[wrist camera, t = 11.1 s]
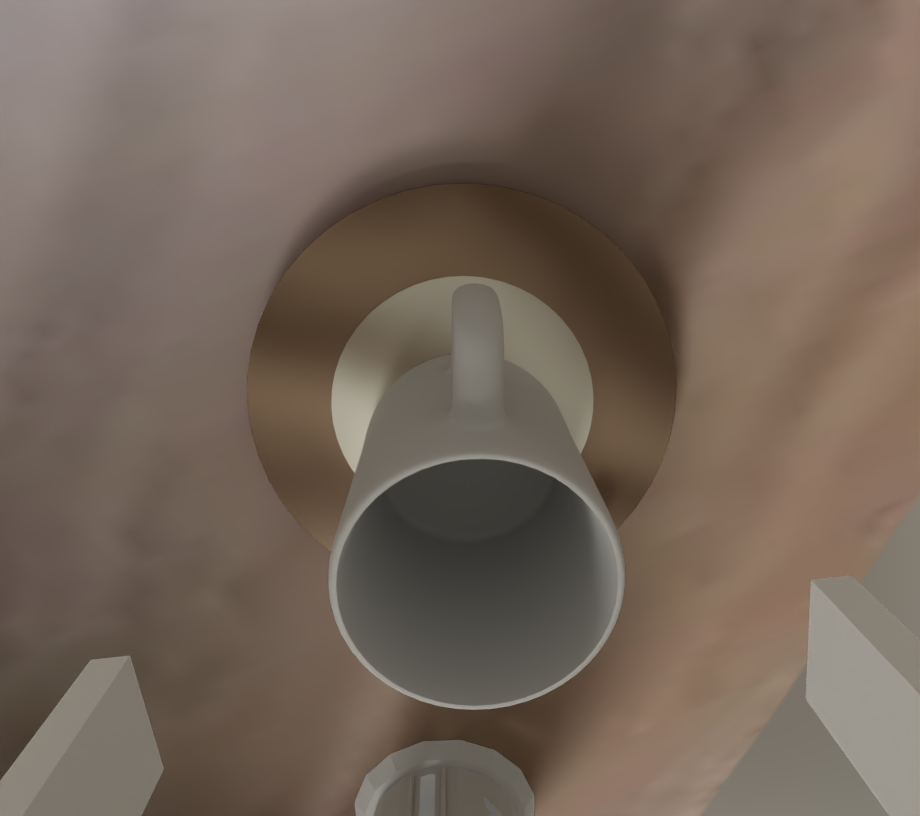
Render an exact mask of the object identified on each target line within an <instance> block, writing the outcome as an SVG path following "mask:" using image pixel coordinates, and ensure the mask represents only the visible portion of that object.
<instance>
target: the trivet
mask: <svg viewBox="0 0 920 816" xmlns="http://www.w3.org/2000/svg"><path fill="white" fill-rule="evenodd" d="M473 283H476V284H484V285H486V286H489V287H491V288H492V289H493V290H494V291H495V292H496V294H497V295H498V298H499V303H500V307H501V312H502V319H503V331H504V360H506V361H509V362H511V363H513V364H515V365H517V366H519V367H521V368H522V369H524V370H525V371H527V372H528V373H530V374H531V375H533V376H534V377H535V378H536V379H537V380H538V381H539V382H540V383H541V384H542V385H543V386H544V387H545V388H546V390H547V391H548V392H549V393H550V394H551V396H552V397H553V399H554V401H555V402H556V404H557V405H558V407H559V409H560V411H561V413H562V416H563V418H564V420H565V422H566V425H567V427H568V430H569V432H570V434H571V436H572V438H573V440H574V442H575V444H576V446H577V448H578V450H579V452H580V454H581V456H582V458H583V460H584V462H585V464H586V466H587V468H588V470H589V472H590V474H591V476H592V478H593V480H594V482H595V484H596V487H597V489H598V491H599V493H600V495H601V497H602V499H603V501H604V503H605V505H606V507H607V509H608V511H609V513H610V515H611V517H612V520H613V522H614V524H615V526H616V529H618V528H619V527H620V526H621V524H622V523H623V522H624V521H625V520H626V518H627V517H628V516H629V515H630V514H631V512H632V511H633V510H634V509H635V508H636V506H637V505H638V503H639V502H640V500H641V499H642V497H643V496H644V494H645V493H646V491H647V490H648V488H649V486H650V485H651V483H652V481H653V479H654V477H655V474H656V472H657V470H658V468H659V466H660V464H661V462H662V459H663V456H664V453H665V450H666V447H667V444H668V441H669V438H670V434H671V428H672V423H673V418H674V412H675V398H676V376H675V364H674V355H673V351H672V346H671V342H670V338H669V333H668V329H667V327H666V324H665V322H664V319H663V316H662V314H661V311H660V308H659V306H658V304H657V302H656V300H655V298H654V296H653V295H652V293H651V291H650V289H649V287H648V285H647V284H646V282H645V280H644V279H643V277H642V276H641V275H640V273H639V272H638V271H637V269H636V268H635V267H634V265H633V264H632V263H631V261H630V260H629V259H628V257H627V256H626V255H625V254H624V253H623V252H622V251H621V250H620V249H619V248H618V247H617V246H616V245H615V244H614V243H613V242H612V241H611V240H610V239H609V238H608V237H607V236H606V235H604V234H603V233H602V232H600V231H599V230H598V229H596V228H595V227H594V226H592V225H591V224H590V223H588V222H587V221H586V220H584V219H583V218H581V217H580V216H578V215H576V214H574V213H572V212H570V211H569V210H567V209H565V208H563V207H561V206H560V205H558V204H556V203H553V202H551V201H548V200H545V199H543V198H540V197H537V196H535V195H532V194H530V193H526V192H522V191H518V190H513V189H509V188H505V187H500V186H492V185H481V184H470V183H463V184H442V185H433V186H428V187H422V188H417V189H412V190H406V191H404V192H401V193H398V194H395V195H392V196H389V197H386V198H383V199H380V200H377V201H375V202H373V203H371V204H369V205H367V206H365V207H363V208H361V209H359V210H357V211H355V212H353V213H351V214H349V215H348V216H346V217H345V218H343V219H342V220H340V221H339V222H338V223H336V224H335V225H333V226H332V227H330V228H329V229H327V230H326V231H325V232H324V233H322V234H321V235H320V236H319V237H318V238H317V239H316V240H315V241H314V242H313V243H311V244H310V245H309V246H308V247H307V248H306V249H305V250H304V251H303V252H302V253H301V254H300V256H299V257H298V258H297V259H296V260H295V262H294V263H293V264H292V265H291V266H290V268H289V269H288V270H287V271H286V273H285V274H284V276H283V277H282V279H281V280H280V282H279V284H278V285H277V287H276V289H275V290H274V292H273V293H272V295H271V297H270V299H269V301H268V303H267V305H266V308H265V310H264V312H263V315H262V317H261V319H260V321H259V324H258V327H257V331H256V335H255V338H254V342H253V345H252V349H251V355H250V362H249V370H248V377H247V384H248V411H249V418H250V424H251V431H252V435H253V438H254V442H255V445H256V449H257V452H258V456H259V458H260V461H261V463H262V465H263V468H264V470H265V472H266V474H267V477H268V479H269V481H270V483H271V484H272V486H273V488H274V489H275V491H276V493H277V494H278V496H279V498H280V499H281V501H282V503H283V504H284V505H285V507H286V508H287V509H288V510H289V512H290V513H291V514H292V515H293V517H294V518H295V519H296V520H297V522H298V523H299V524H300V525H301V526H302V527H303V528H304V529H305V530H306V531H307V532H308V533H309V534H310V535H311V536H312V537H313V538H314V539H315V540H316V541H317V542H319V543H320V544H321V545H323V546H324V547H325V548H327V549H328V550H329V551H331V550H332V545H333V541H334V538H335V535H336V531H337V528H338V525H339V522H340V519H341V516H342V512H343V509H344V506H345V503H346V500H347V497H348V493H349V490H350V487H351V484H352V481H353V478H354V475H355V471H356V468H357V465H358V462H359V459H360V455H361V452H362V448H363V445H364V441H365V436H366V432H367V429H368V426H369V423H370V420H371V417H372V415H373V413H374V411H375V409H376V407H377V405H378V403H379V401H380V400H381V398H382V397H383V395H384V394H385V393H386V391H387V390H388V389H389V388H390V387H391V386H392V385H393V383H394V382H395V381H397V380H398V379H399V378H400V377H401V376H403V375H404V374H405V373H406V372H408V371H410V370H411V369H413V368H414V367H416V366H418V365H420V364H422V363H424V362H426V361H429V360H432V359H435V358H438V357H441V356H446V355H451V350H452V296H453V292H454V291H455V290H456V289H457V288H458V287H460V286H462V285H465V284H473Z"/></svg>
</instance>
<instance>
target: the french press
mask: <svg viewBox="0 0 920 816" xmlns="http://www.w3.org/2000/svg"><path fill="white" fill-rule="evenodd" d="M534 806H535V795H534V793H533V791H532V789H531V788H530V786H529V784H528V782H527V780H526V778H525V776H524V775H523V773H522V771H521V769H520V768H518V767H517V766H516V765H514V764H513V763H512V762H510V761H509V760H508V759H506V758H505V757H504V756H502V755H501V754H500V753H498V752H497V751H496V750H494V749H490V748H487V747H483V746H480V745H477V744H473V743H470V742H466V741H463V740H440V741H422V742H420V743H417V744H415V745H412V746H409V747H407V748H404V749H401V750H399V751H396V752H393V753H391V754H389V755H388V756H387V757H386V758H385V759H384V760H383V761H381V762H380V763H379V764H378V765H377V766H376V767H375V768H374V769H372V770H371V771H370V772H369V773H368V774H367V775H366V776H365V779H364V781H363V783H362V786H361V788H360V790H359V793H358V795H357V797H356V800H355V812H356V816H534Z"/></svg>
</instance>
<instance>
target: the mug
mask: <svg viewBox="0 0 920 816" xmlns="http://www.w3.org/2000/svg"><path fill="white" fill-rule="evenodd" d="M328 588H329V596H330V603H331V607H332V610H333V614H334V618H335V621H336V623H337V625H338V628H339V630H340V632H341V634H342V637H343V638H344V640H345V641H346V643H347V645H348V646H349V648H350V649H351V651H352V652H353V653H354V655H355V656H356V657H357V658H358V659H359V661H360V662H361V663H362V664H363V665H364V666H365V667H366V668H367V669H368V670H369V671H370V672H371V673H373V674H374V675H375V676H376V677H377V678H379V679H380V680H382V681H383V682H384V683H386V684H387V685H389V686H390V687H392V688H394V689H396V690H398V691H399V692H401V693H403V694H405V695H408V696H410V697H413V698H415V699H417V700H420V701H423V702H426V703H430V704H433V705H437V706H442V707H448V708H454V709H469V710H480V709H494V708H501V707H507V706H512V705H515V704H519V703H523V702H526V701H529V700H532V699H534V698H537V697H539V696H542V695H544V694H546V693H548V692H550V691H552V690H553V689H555V688H557V687H559V686H561V685H562V684H564V683H565V682H567V681H568V680H569V679H571V678H572V677H574V676H575V675H576V674H577V673H579V672H580V671H581V670H582V669H583V668H584V667H585V666H586V665H587V664H588V663H589V662H590V661H591V660H592V659H593V658H594V657H595V655H596V654H597V653H598V652H599V651H600V649H601V648H602V646H603V645H604V643H605V642H606V640H607V639H608V637H609V636H610V634H611V632H612V630H613V628H614V626H615V624H616V622H617V618H618V615H619V612H620V609H621V606H622V601H623V595H624V590H625V561H624V553H623V548H622V545H621V541H620V538H619V534H618V531H617V529H616V526H615V524H614V522H613V520H612V517H611V515H610V513H609V511H608V509H607V507H606V505H605V503H604V501H603V499H602V497H601V495H600V493H599V491H598V489H597V487H596V484H595V482H594V480H593V478H592V476H591V474H590V472H589V470H588V468H587V466H586V464H585V462H584V460H583V458H582V456H581V454H580V452H579V450H578V448H577V446H576V444H575V442H574V440H573V438H572V436H571V434H570V432H569V430H568V427H567V425H566V422H565V420H564V418H563V416H562V413H561V411H560V409H559V407H558V405H557V404H556V402H555V401H554V399H553V397H552V396H551V394H550V393H549V392H548V391H547V390H546V388H545V387H544V386H543V385H542V384H541V383H540V382H539V381H538V380H537V379H536V378H535V377H534V376H533V375H531V374H530V373H528V372H527V371H525V370H524V369H522V368H521V367H519V366H517V365H515V364H513V363H511V362H509V361H506V360H504V331H503V319H502V312H501V307H500V303H499V298H498V295H497V294H496V292H495V291H494V290H493V289H492V288H491V287H489V286H486V285H484V284H476V283H473V284H465V285H462V286H460V287H458V288H457V289H456V290H455V291H454V292H453V296H452V350H451V355H446V356H441V357H438V358H435V359H432V360H429V361H426V362H424V363H422V364H420V365H418V366H416V367H414V368H413V369H411V370H410V371H408V372H406V373H405V374H404V375H403V376H401V377H400V378H399V379H398V380H397V381H395V382H394V383H393V385H392V386H391V387H390V388H389V389H388V390H387V391H386V393H385V394H384V395H383V397H382V398H381V400H380V401H379V403H378V405H377V407H376V409H375V411H374V413H373V415H372V417H371V420H370V423H369V426H368V429H367V432H366V436H365V441H364V445H363V448H362V452H361V455H360V459H359V462H358V465H357V468H356V471H355V475H354V478H353V481H352V484H351V487H350V490H349V493H348V497H347V500H346V503H345V506H344V509H343V512H342V516H341V519H340V522H339V525H338V528H337V531H336V535H335V538H334V541H333V545H332V550H331V556H330V561H329V575H328Z"/></svg>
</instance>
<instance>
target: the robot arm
mask: <svg viewBox="0 0 920 816" xmlns="http://www.w3.org/2000/svg"><path fill="white" fill-rule="evenodd" d="M806 700H807V701H808V703H809V704H810V706H811V707H812V708H813V710H814V711H815V713H816V714H817V715H818V717H819V718H820V720H821V721H822V722H823V724H824V725H825V726H826V728H827V729H828V731H829V732H830V734H831V735H832V736H833V738H834V739H835V741H836V742H837V743H838V745H839V746H840V748H841V749H842V750H843V752H844V753H845V755H846V756H847V757H848V758H849V760H850V762H851V763H852V764H853V766H854V767H855V768H856V770H857V771H858V773H859V774H860V776H861V777H862V778H863V780H864V781H865V783H866V784H867V785H868V787H869V788H870V790H871V791H872V792H873V794H874V795H875V796H876V798H877V799H878V801H879V802H880V804H881V805H882V806H883V808H884V809H885V811H886V812H887V813H888V815H889V816H920V640H919V639H918V638H917V637H916V636H915V635H914V634H913V633H912V632H911V631H910V630H909V629H908V628H907V627H905V626H904V625H903V624H902V623H901V622H900V621H899V620H898V619H897V618H896V617H895V616H894V615H893V614H891V612H889V611H888V610H887V609H886V608H885V607H884V606H883V605H882V604H881V603H880V602H879V601H878V600H876V599H875V597H874V596H872V595H871V594H870V593H869V592H868V591H867V590H866V589H865V588H864V587H863V586H862V585H861V584H860V583H859V582H858V581H857V580H856V579H855V578H853V577H852V576H842V577H833V578H824V579H815V580H811V593H810V616H809V638H808V661H807V684H806ZM163 770H164V767H163V764H162V761H161V757H160V754H159V751H158V747H157V744H156V741H155V737H154V734H153V731H152V727H151V724H150V721H149V717H148V714H147V711H146V707H145V704H144V701H143V697H142V694H141V690H140V687H139V684H138V680H137V677H136V674H135V670H134V667H133V664H132V660H131V657H130V656H121V657H112V658H103V659H93V660H90V661H89V663H88V664H87V665H86V667H85V668H84V669H83V671H82V672H81V673H80V675H79V676H78V677H77V679H76V680H75V681H74V683H73V684H72V685H71V687H70V688H69V689H68V691H67V692H66V693H65V695H64V696H63V697H62V699H61V700H60V701H59V703H58V704H57V705H56V707H55V708H54V710H53V711H52V712H51V714H50V715H49V716H48V718H47V719H46V720H45V722H44V723H43V724H42V726H41V727H40V728H39V730H38V731H37V732H36V734H35V735H34V736H33V738H32V739H31V740H30V742H29V743H28V744H27V746H26V747H25V748H24V750H23V751H22V752H21V754H20V755H19V756H18V758H17V759H16V760H15V762H14V763H13V764H12V766H11V767H10V768H9V770H8V771H7V772H6V774H5V775H4V776H3V778H2V779H1V780H0V816H142V814H143V812H144V810H145V808H146V806H147V804H148V802H149V799H150V797H151V795H152V793H153V791H154V789H155V787H156V785H157V783H158V781H159V779H160V777H161V774H162V772H163Z"/></svg>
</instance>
